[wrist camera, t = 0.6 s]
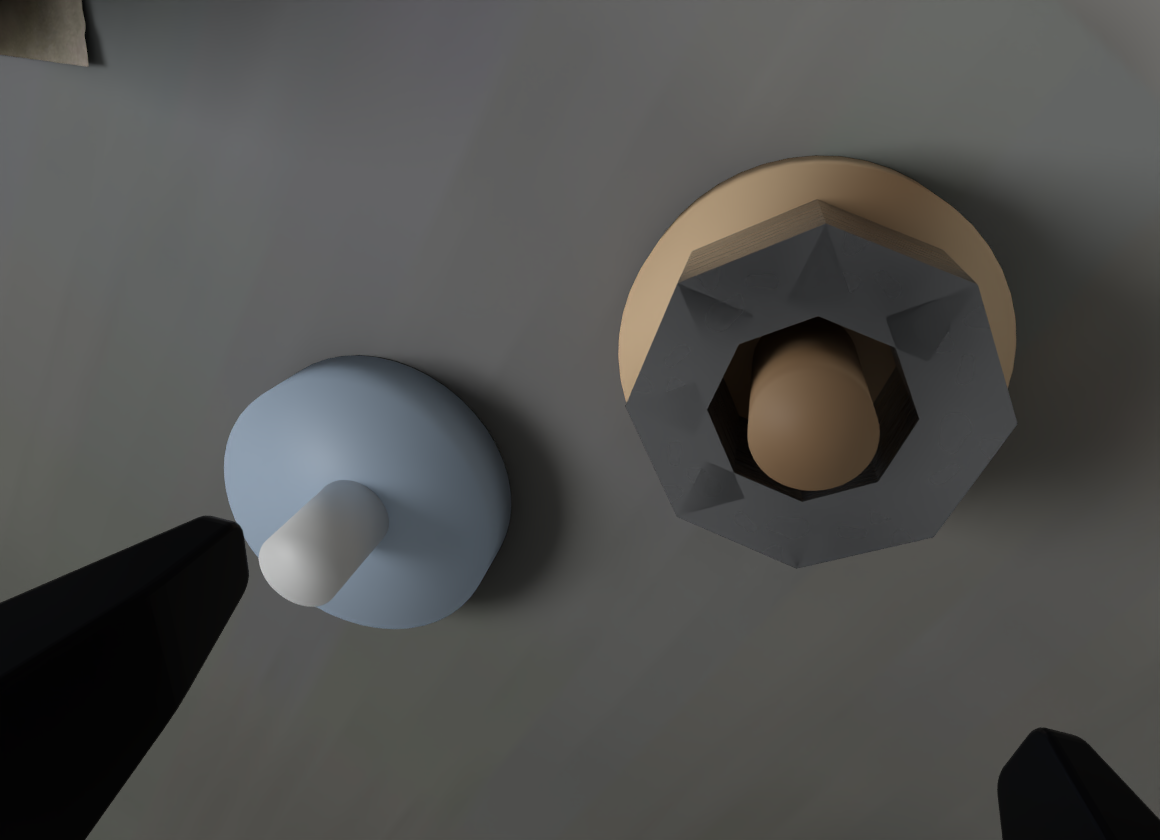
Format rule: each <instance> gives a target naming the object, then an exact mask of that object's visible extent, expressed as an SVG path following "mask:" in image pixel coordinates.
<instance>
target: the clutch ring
mask: <svg viewBox="0 0 1160 840" xmlns="http://www.w3.org/2000/svg"><path fill="white" fill-rule="evenodd" d="M817 316H819V317H822V318H824V319H826V320H829V321H831V322H834V323H836V324H839V325H841V326H843V327H846V328H848V329H851V330H853V331H856V332H858V333H860V334H863V335H865V336H868V337H870V338H873V339H875V340H877V341H880V342H882V343H885V344H887V345H889V346H890V349H891V352H892V355H893V358H894V361H895V364H896V367H895V369H894V370H893V372H892V374H891V375H890V377H889V379H888V380H887V382H886V383H885V385H884V387H883V388H882V390H881V392H880V393H879V395H878V396H877V398H876V400H875V401H874V403H873V405H874V409H875V412H876V415H877V418H878V422H879V429H880V437H879V444H878V448H877V450H876V453H875V455H874V457H873V459H872V461H871V462H870V463H869V465H868V466H867V467H866V468H865V469H864V470H863V471H862V472H861V473H860V474H859V475H858V476H856V477H855V478H854V479H852V480H850V481H849V482H847V483H845V484H843V485H840V486H837V487H834V488H831V489H826V490H818V491H807V490H799V489H795V488H791V487H788V486H785V485H783V484H781V483H779V482H777V481H775V480H774V479H772V478H770V477H769V476H768V475H767V474H766V473H764V472H763V471H762V469H761V468H760V467H759V466H758V465H757V463H756V462H755V460H754V458H753V456H752V454H751V451H750V448H749V444H748V419H746V418H744V417H741V416H739V414H738V411H737V409H736V406H735V404H734V402H733V399H732V397H731V394H730V392H729V390H728V387H727V385H726V382H725V380H724V377H723V376H724V374H725V372H726V370H727V368H728V366H729V364H730V362H731V360H732V357H733V355H734V353H735V351H736V349H737V347H738V345H739V344H741V343H744V342H747V341H749V340H752V339H755V338H758V337H761V336H764V335H766V334H769V333H772V332H775V331H778V330H780V329H783V328H786V327H789V326H792V325H794V324H797V323H800V322H803V321H806V320H809V319H811V318H814V317H817ZM625 407H626V409H627V411H628V413H629V415H630V417H631V419H632V422H633V424H634V426H635V428H636V430H637V432H638V434H639V437H640V439H641V441H642V443H643V445H644V447H645V449H646V452H647V454H648V456H649V458H650V460H651V462H652V464H653V467H654V469H655V471H656V473H657V475H658V477H659V480H660V482H661V484H662V486H663V488H664V490H665V492H666V495H667V497H668V499H669V501H670V503H671V505H672V507H673V510H674V512H675V514H676V516H677V517H679V518H681V519H683V520H686V521H688V522H690V523H692V524H695V525H697V526H699V527H702V528H704V529H706V530H709V531H711V532H713V533H716V534H718V535H720V536H722V537H725V538H727V539H729V540H732V541H734V542H736V543H739V544H741V545H743V546H746V547H748V548H750V549H752V550H755V551H757V552H759V553H762V554H764V555H766V556H769V557H771V558H773V559H776V560H778V561H780V562H782V563H785V564H787V565H789V566H792V567H794V568H796V569H797V568H801V567H806V566H810V565H814V564H819V563H823V562H828V561H832V560H836V559H841V558H845V557H849V556H854V555H858V554H863V553H867V552H871V551H876V550H880V549H884V548H889V547H893V546H898V545H902V544H906V543H911V542H915V541H919V540H924V539H928V538H933V537H934V536H935V535H936V533H937V532H938V531H939V529H940V528H941V527H942V525H943V524H944V523H945V521H946V520H947V518H948V517H949V516H950V514H951V513H952V512H953V510H954V509H955V508H956V506H957V505H958V504H959V502H960V501H961V500H962V498H963V497H964V496H965V494H966V493H967V491H968V490H969V489H970V487H971V486H972V485H973V483H974V482H975V481H976V479H977V478H978V477H979V475H980V474H981V473H982V471H983V470H984V469H985V467H986V466H987V465H988V463H989V462H990V460H991V459H992V458H993V456H994V455H995V454H996V452H997V451H998V450H999V448H1000V447H1001V446H1002V444H1003V443H1004V442H1005V440H1006V439H1007V438H1008V436H1009V435H1010V433H1011V432H1012V431H1013V429H1014V428H1015V427H1016V425H1017V424H1018V423H1017V420H1016V416H1015V413H1014V409H1013V406H1012V402H1011V399H1010V395H1009V392H1008V388H1007V385H1006V381H1005V378H1004V374H1003V371H1002V367H1001V364H1000V360H999V357H998V353H997V350H996V346H995V343H994V339H993V336H992V332H991V329H990V325H989V322H988V318H987V315H986V311H985V308H984V304H983V301H982V297H981V294H980V290H979V287H978V284H977V283H976V282H975V281H974V280H973V279H972V278H971V277H970V276H969V275H968V274H967V273H966V272H965V271H964V270H963V269H962V268H961V267H960V266H959V265H958V264H957V263H956V262H955V261H954V260H953V259H952V258H951V257H950V256H949V255H948V254H947V253H946V252H945V251H944V250H943V249H940V248H938V247H935V246H933V245H930V244H928V243H925V242H923V241H920V240H918V239H915V238H913V237H910V236H908V235H905V234H903V233H900V232H898V231H895V230H893V229H890V228H888V227H885V226H883V225H880V224H878V223H875V222H873V221H870V220H868V219H865V218H863V217H860V216H858V215H855V214H853V213H850V212H848V211H845V210H843V209H841V208H838V207H836V206H833V205H831V204H828V203H826V202H823V201H821V200H818V199H816V200H813V201H811V202H809V203H806V204H804V205H801V206H799V207H797V208H794V209H792V210H789V211H787V212H784V213H782V214H780V215H777V216H775V217H772V218H770V219H768V220H765V221H763V222H760V223H758V224H756V225H753V226H751V227H748V228H746V229H744V230H741V231H739V232H736V233H734V234H732V235H729V236H727V237H724V238H722V239H720V240H717V241H715V242H712V243H710V244H708V245H705V246H703V247H700V248H698V249H696V250H693V251H692V252H691V254H690V257H689V259H688V261H687V263H686V265H685V268H684V270H683V272H682V274H681V276H680V278H679V281H678V283H677V285H676V288H675V290H674V292H673V295H672V297H671V299H670V302H669V304H668V306H667V309H666V311H665V313H664V316H663V318H662V321H661V323H660V325H659V328H658V330H657V332H656V335H655V337H654V339H653V342H652V344H651V346H650V349H649V351H648V354H647V356H646V358H645V361H644V363H643V365H642V368H641V370H640V372H639V375H638V377H637V379H636V382H635V384H634V387H633V389H632V391H631V394H630V396H629V398H628V401H627V403H626V405H625Z"/></svg>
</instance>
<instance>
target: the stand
mask: <svg viewBox="0 0 1160 840" xmlns="http://www.w3.org/2000/svg"><path fill="white" fill-rule="evenodd" d="M816 199H818V200H821V201H823V202H826V203H828V204H831V205H833V206H836V207H838V208H841V209H843V210H845V211H848V212H850V213H853V214H855V215H858V216H860V217H863V218H865V219H868V220H870V221H873V222H875V223H878V224H880V225H883V226H885V227H888V228H890V229H893V230H895V231H898V232H900V233H903V234H905V235H908V236H910V237H913V238H915V239H918V240H920V241H923V242H925V243H928V244H930V245H933V246H935V247H938V248H940V249H943V250H944V251H945V252H946V253H947V254H948V255H949V256H950V257H951V258H952V259H953V260H954V261H955V262H956V263H957V264H958V265H959V266H960V267H961V268H962V269H963V270H964V271H965V272H966V273H967V274H968V275H969V276H970V277H971V278H972V279H973V280H974V281H975V282H976V283H977V284H978V287H979V290H980V294H981V297H982V301H983V304H984V308H985V311H986V315H987V318H988V322H989V325H990V329H991V332H992V336H993V339H994V343H995V346H996V350H997V353H998V357H999V360H1000V364H1001V367H1002V371H1003V374H1004V378H1005V381H1006V385H1007V388H1008V386H1009V382H1010V378H1011V375H1012V371H1013V366H1014V358H1015V351H1016V318H1015V313H1014V308H1013V302H1012V297H1011V293H1010V290H1009V287H1008V285H1007V282H1006V279H1005V276H1004V273H1003V271H1002V268H1001V267H1000V265H999V263H998V261H997V259H996V258H995V256H994V254H993V252H992V250H991V249H990V247H989V246H988V244H987V243H986V242H985V240H984V239H983V238H982V237H981V235H980V234H979V233H978V232H977V230H976V229H975V228H974V226H973V225H972V224H971V223H970V222H968V221H967V220H966V219H965V218H964V217H963V216H962V215H961V214H960V213H959V212H958V211H957V210H956V209H954V208H953V207H952V206H951V205H949V204H948V203H947V202H945V201H944V200H942V199H941V198H940V197H938V196H937V195H935V194H934V193H933V192H931V191H930V190H928V189H927V188H925V187H924V186H922V185H921V184H919V183H918V182H916V181H915V180H913V179H911V178H909V177H907V176H905V175H903V174H901V173H899V172H897V171H895V170H893V169H891V168H887V167H884V166H881V165H878V164H875V163H872V162H869V161H865V160H859V159H853V158H847V157H841V156H805V157H795V158H787V159H783V160H779V161H774V162H770V163H766V164H762V165H760V166H757V167H754V168H752V169H749V170H746V171H744V172H741V173H739V174H737V175H735V176H733V177H731V178H729V179H727V180H725V181H724V182H722V183H720V184H718V185H716V186H715V187H714V188H712V189H711V190H709V191H708V192H706V193H705V194H704V195H702V196H701V197H699V198H698V199H697V200H696V201H695V202H693V203H692V204H691V205H690V206H689V207H688V208H687V209H686V210H685V211H684V212H682V213H681V214H680V215H679V216H678V218H677V219H676V220H675V221H674V222H673V224H672V225H671V226H670V227H669V228H668V229H667V231H666V232H665V233H664V235H663V236H662V237H661V239H660V240H659V242H658V243H657V245H656V246H655V248H654V249H653V251H652V252H651V254H650V255H649V257H648V258H647V260H646V261H645V263H644V265H643V266H642V268H641V269H640V271H639V273H638V275H637V278H636V280H635V282H634V284H633V286H632V288H631V290H630V293H629V296H628V299H627V303H626V306H625V309H624V312H623V317H622V323H621V328H620V334H619V367H620V377H621V383H622V387H623V391H624V395H625V399H626V402H627V401H628V398H629V396H630V394H631V391H632V389H633V387H634V384H635V382H636V379H637V377H638V375H639V372H640V370H641V368H642V365H643V363H644V361H645V358H646V356H647V354H648V351H649V349H650V346H651V344H652V342H653V339H654V337H655V335H656V332H657V330H658V328H659V325H660V323H661V321H662V318H663V316H664V313H665V311H666V309H667V306H668V304H669V302H670V299H671V297H672V295H673V292H674V290H675V288H676V285H677V283H678V281H679V278H680V276H681V274H682V272H683V270H684V268H685V265H686V263H687V261H688V259H689V257H690V254H691V252H692V251H693V250H696V249H698V248H700V247H703V246H705V245H708V244H710V243H712V242H715V241H717V240H720V239H722V238H724V237H727V236H729V235H732V234H734V233H736V232H739V231H741V230H744V229H746V228H748V227H751V226H753V225H756V224H758V223H760V222H763V221H765V220H768V219H770V218H772V217H775V216H777V215H780V214H782V213H784V212H787V211H789V210H792V209H794V208H797V207H799V206H801V205H804V204H806V203H809V202H811V201H813V200H816ZM895 367H896V364H895V361H894V358H893V355H892V352H891V349H890V346H889V345H887V344H885V343H882V342H880V341H877V340H875V339H873V338H870V337H868V336H865V335H863V334H860V333H858V332H856V331H853V330H851V329H848V328H846V327H843V326H841V325H839V324H836V323H834V322H831V321H829V320H826V319H824V318H822V317H819V316H817V317H814V318H811V319H809V320H806V321H803V322H800V323H797V324H794V325H792V326H789V327H786V328H783V329H780V330H778V331H775V332H772V333H769V334H766V335H764V336H761V337H758V338H755V339H752V340H749V341H747V342H744V343H741V344H739V345H738V347H737V349H736V351H735V353H734V355H733V357H732V360H731V362H730V364H729V366H728V368H727V370H726V372H725V374H724V376H723V377H724V380H725V382H726V385H727V387H728V390H729V392H730V394H731V397H732V399H733V402H734V404H735V406H736V409H737V411H738V414H739V416H741V417H744V418H746V419H748V444H749V448H750V451H751V454H752V456H753V458H754V460H755V462H756V463H757V465H758V466H759V467H760V468H761V469H762V471H763V472H764V473H766V474H767V475H768V476H769V477H770V478H772V479H774V480H775V481H777V482H779V483H781V484H783V485H785V486H788V487H791V488H795V489H799V490H807V491H818V490H826V489H831V488H834V487H837V486H840V485H843V484H845V483H847V482H849V481H850V480H852V479H854V478H855V477H856V476H858V475H859V474H860V473H861V472H862V471H863V470H864V469H865V468H866V467H867V466H868V465H869V463H870V462H871V461H872V459H873V457H874V455H875V453H876V450H877V448H878V444H879V437H880V429H879V422H878V418H877V415H876V412H875V409H874V405H873V403H874V401H875V400H876V398H877V396H878V395H879V393H880V392H881V390H882V388H883V387H884V385H885V383H886V382H887V380H888V379H889V377H890V375H891V374H892V372H893V370H894V369H895Z"/></svg>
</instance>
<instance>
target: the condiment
mask: <svg viewBox="0 0 1160 840" xmlns="http://www.w3.org/2000/svg"><path fill="white" fill-rule="evenodd" d="M84 33H85V20H84V16H83V10H82V0H0V55H7V56H13V57H22V58H29V59H37V60H44V61H51V62H57V63H64V64H72V65H79V66H87V67H89V66H88V55H87V48H86V42H85V37H84Z"/></svg>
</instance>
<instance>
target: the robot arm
mask: <svg viewBox="0 0 1160 840" xmlns="http://www.w3.org/2000/svg"><path fill="white" fill-rule="evenodd" d="M248 577H249V570H248V563H247V555H246V548H245V541H244V534H243V530H242V528H241V526H240V525H239V524H238V523H236V522H233V521H230V520H226V519H222V518H218V517H214V516H201V517H199V518H196V519H193V520H191V521H189V522H187V523H184V524H182V525H180V526H177V527H175V528H173V529H170V530H168V531H166V532H163V533H161V534H159V535H156V536H154V537H152V538H149V539H147V540H145V541H142V542H140V543H138V544H136V545H133V546H131V547H129V548H126V549H124V550H122V551H119V552H117V553H115V554H112V555H110V556H108V557H105V558H103V559H101V560H98V561H96V562H94V563H91V564H89V565H87V566H85V567H82V568H80V569H78V570H75V571H73V572H71V573H68V574H66V575H64V576H61V577H59V578H57V579H54V580H52V581H50V582H47V583H45V584H43V585H41V586H38V587H36V588H34V589H31V590H29V591H27V592H24V593H22V594H20V595H17V596H15V597H13V598H10V599H8V600H6V601H3V602H1V603H0V840H85V839H86V838H87V836H88V835H89V833H90V832H91V831H92V829H93V828H94V826H95V825H96V824H97V822H98V821H99V819H100V818H101V816H102V815H103V814H104V812H105V811H106V809H107V808H108V807H109V805H110V804H111V802H112V801H113V800H114V798H115V797H116V795H117V794H118V793H119V791H120V790H121V788H122V787H123V786H124V784H125V783H126V781H127V780H128V779H129V777H130V776H131V774H132V773H133V771H134V770H135V769H136V767H137V766H138V764H139V763H140V762H141V760H142V759H143V757H144V756H145V755H146V753H147V752H148V750H149V749H150V748H151V746H152V745H153V743H154V742H155V741H156V739H157V738H158V736H159V735H160V734H161V732H162V731H163V729H164V728H165V726H166V725H167V723H168V722H169V721H170V719H171V718H172V716H173V715H174V713H175V712H176V710H177V709H178V707H179V705H180V704H181V702H182V700H183V699H184V697H185V695H186V694H187V692H188V691H189V689H190V687H191V685H192V684H193V682H194V680H195V678H196V677H197V675H198V673H199V671H200V670H201V668H202V666H203V664H204V662H205V661H206V659H207V657H208V655H209V654H210V652H211V650H212V648H213V647H214V645H215V643H216V641H217V640H218V638H219V636H220V634H221V633H222V631H223V629H224V627H225V626H226V624H227V622H228V620H229V619H230V617H231V615H232V613H233V612H234V610H235V608H236V606H237V605H238V603H239V601H240V599H241V598H242V596H243V594H244V592H245V589H246V587H247V583H248ZM997 791H998V802H999V811H1000V820H1001V829H1002V838H1003V840H1160V819H1159V818H1158V817H1157V816H1156V815H1155V814H1154V813H1153V812H1152V811H1151V810H1150V809H1149V808H1148V807H1147V806H1146V805H1145V803H1144V802H1143V801H1142V800H1141V799H1140V798H1139V797H1138V796H1137V795H1136V794H1135V793H1134V792H1133V791H1132V790H1131V789H1130V788H1129V786H1128V785H1127V784H1126V783H1125V782H1124V781H1123V780H1122V779H1121V778H1120V777H1119V776H1118V775H1117V774H1116V773H1115V772H1114V771H1113V769H1112V768H1111V767H1110V766H1109V765H1108V764H1107V763H1106V762H1105V761H1104V760H1103V759H1102V758H1101V757H1100V756H1099V755H1098V754H1097V752H1096V751H1095V750H1094V749H1093V748H1092V747H1091V746H1090V745H1089V744H1088V743H1087V742H1086V741H1084V740H1083V739H1081V738H1080V737H1077V736H1075V735H1072V734H1068V733H1064V732H1060V731H1056V730H1052V729H1048V728H1037V729H1035V730H1033V731H1032V732H1031V733H1030V734H1029V735H1028V736H1027V737H1026V739H1025V740H1024V741H1023V743H1022V744H1021V745H1020V746H1019V748H1018V749H1017V750H1016V752H1015V753H1014V754H1013V756H1012V757H1011V758H1010V759H1009V761H1008V762H1007V763H1006V765H1005V766H1004V767H1003V769H1002V771H1001V773H1000V776H999V780H998V789H997Z"/></svg>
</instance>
